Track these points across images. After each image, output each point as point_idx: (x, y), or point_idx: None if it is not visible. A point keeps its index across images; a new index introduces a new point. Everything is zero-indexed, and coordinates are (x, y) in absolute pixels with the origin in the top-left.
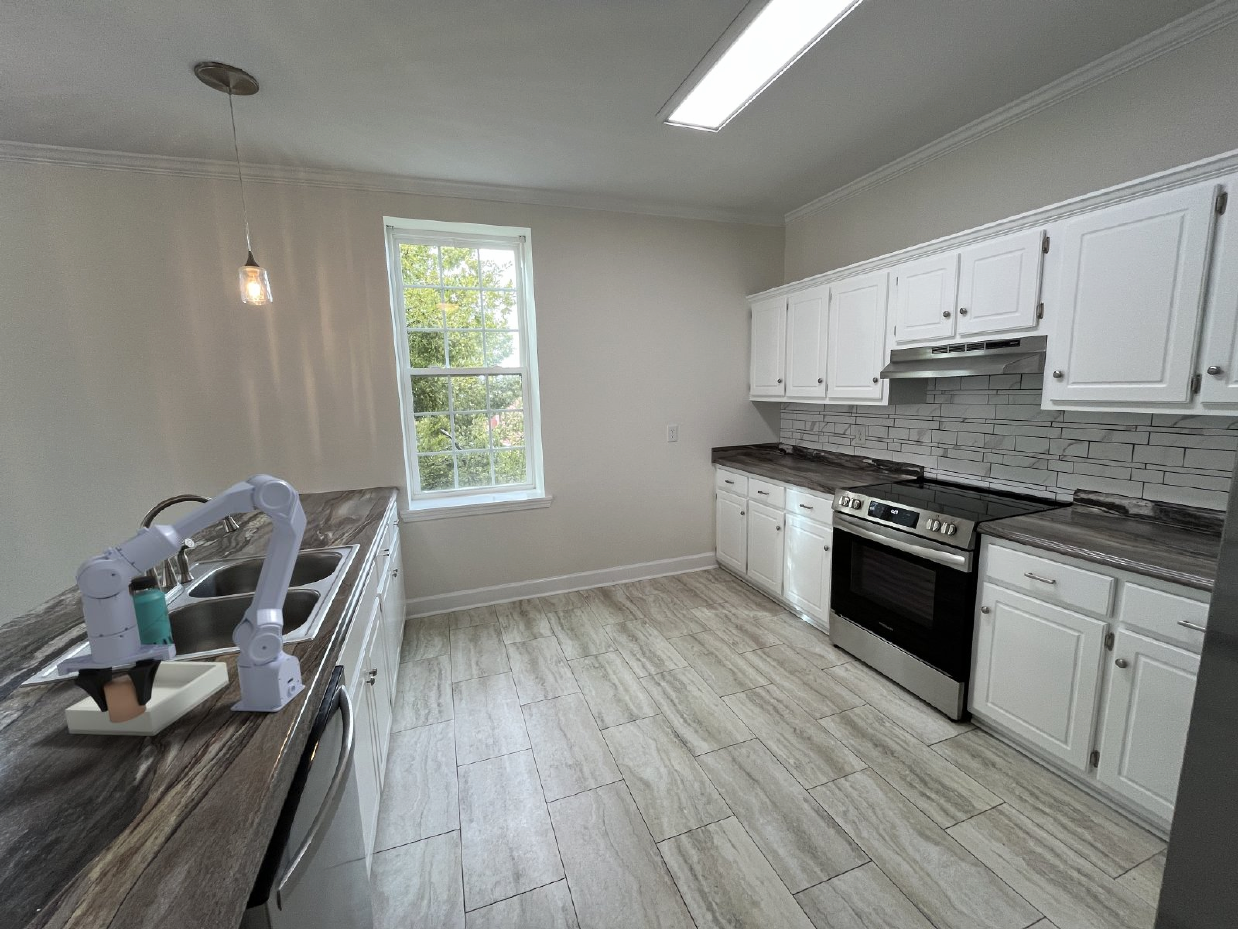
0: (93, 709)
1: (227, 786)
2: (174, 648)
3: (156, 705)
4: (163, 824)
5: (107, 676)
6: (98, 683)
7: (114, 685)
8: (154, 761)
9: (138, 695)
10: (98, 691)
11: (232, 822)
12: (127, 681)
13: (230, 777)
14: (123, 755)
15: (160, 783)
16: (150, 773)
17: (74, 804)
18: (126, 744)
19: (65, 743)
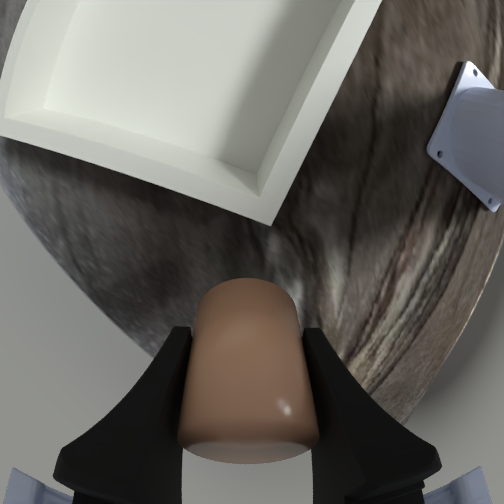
0: (53, 144)
1: (412, 362)
2: (484, 493)
3: (274, 182)
4: None
5: (162, 452)
6: (177, 473)
7: (233, 456)
8: (307, 294)
9: None
10: (181, 447)
11: (408, 395)
12: (274, 449)
13: (416, 351)
14: (226, 253)
15: (335, 347)
16: (312, 324)
17: None
18: (206, 207)
19: (54, 158)
